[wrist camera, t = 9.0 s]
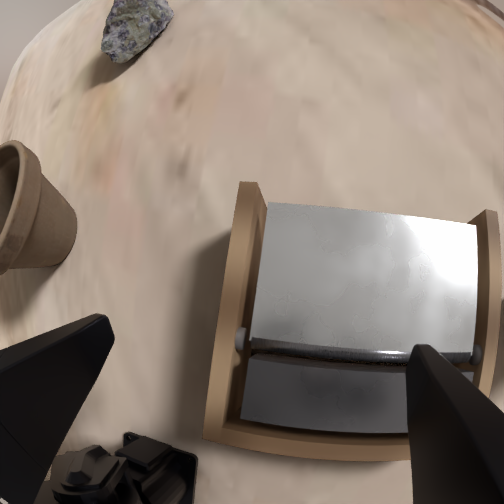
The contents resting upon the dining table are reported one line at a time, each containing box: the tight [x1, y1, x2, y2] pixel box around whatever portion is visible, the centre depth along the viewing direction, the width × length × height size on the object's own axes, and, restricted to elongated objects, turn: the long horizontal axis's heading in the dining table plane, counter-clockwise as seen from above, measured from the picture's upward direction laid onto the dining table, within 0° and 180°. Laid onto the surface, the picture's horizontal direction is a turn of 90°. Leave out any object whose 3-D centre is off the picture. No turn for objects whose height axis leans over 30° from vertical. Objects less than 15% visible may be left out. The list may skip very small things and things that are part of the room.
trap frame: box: [202, 181, 502, 461], centre depth 16 cm, size 14×16×6 cm
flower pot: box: [0, 140, 77, 275], centre depth 21 cm, size 12×11×10 cm
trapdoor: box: [240, 202, 478, 433], centre depth 14 cm, size 12×13×3 cm
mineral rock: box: [101, 0, 174, 64], centre depth 27 cm, size 13×11×10 cm
